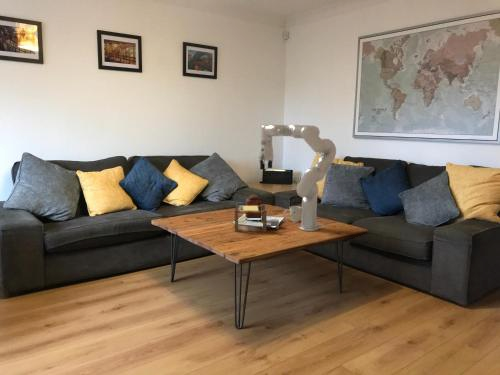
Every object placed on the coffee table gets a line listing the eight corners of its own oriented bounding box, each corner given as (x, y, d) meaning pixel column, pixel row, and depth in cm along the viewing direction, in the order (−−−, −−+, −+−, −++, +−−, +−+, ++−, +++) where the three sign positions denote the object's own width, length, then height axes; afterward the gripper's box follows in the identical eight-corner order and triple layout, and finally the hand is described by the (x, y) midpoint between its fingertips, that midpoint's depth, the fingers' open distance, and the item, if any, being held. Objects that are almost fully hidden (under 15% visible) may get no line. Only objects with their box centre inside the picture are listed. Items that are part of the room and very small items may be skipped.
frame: (264, 223, 285) (264, 204, 283) (266, 231, 265) (266, 210, 263) (235, 223, 284) (235, 204, 282) (234, 231, 264) (234, 210, 262)
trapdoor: (257, 207, 280) (257, 204, 279) (258, 212, 266) (258, 209, 266) (239, 207, 279) (239, 204, 279) (239, 212, 266) (239, 209, 265)
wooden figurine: (262, 219, 298) (262, 194, 295) (261, 221, 291) (261, 196, 289) (245, 218, 299) (246, 193, 297) (244, 220, 293) (244, 195, 290)
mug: (301, 222, 289) (302, 208, 287) (283, 222, 289) (283, 208, 288) (300, 219, 297) (301, 205, 296) (282, 219, 297) (283, 205, 296)
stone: (277, 226, 278) (278, 219, 277) (278, 228, 273) (278, 221, 272) (270, 226, 277) (270, 219, 277) (271, 228, 272) (271, 221, 272)
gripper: (264, 144, 272) (264, 170, 275) (277, 143, 286) (277, 167, 289) (254, 143, 276) (254, 169, 279) (268, 142, 290) (268, 167, 293)
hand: (266, 168), depth 284 cm, fingers open, 9 cm apart
